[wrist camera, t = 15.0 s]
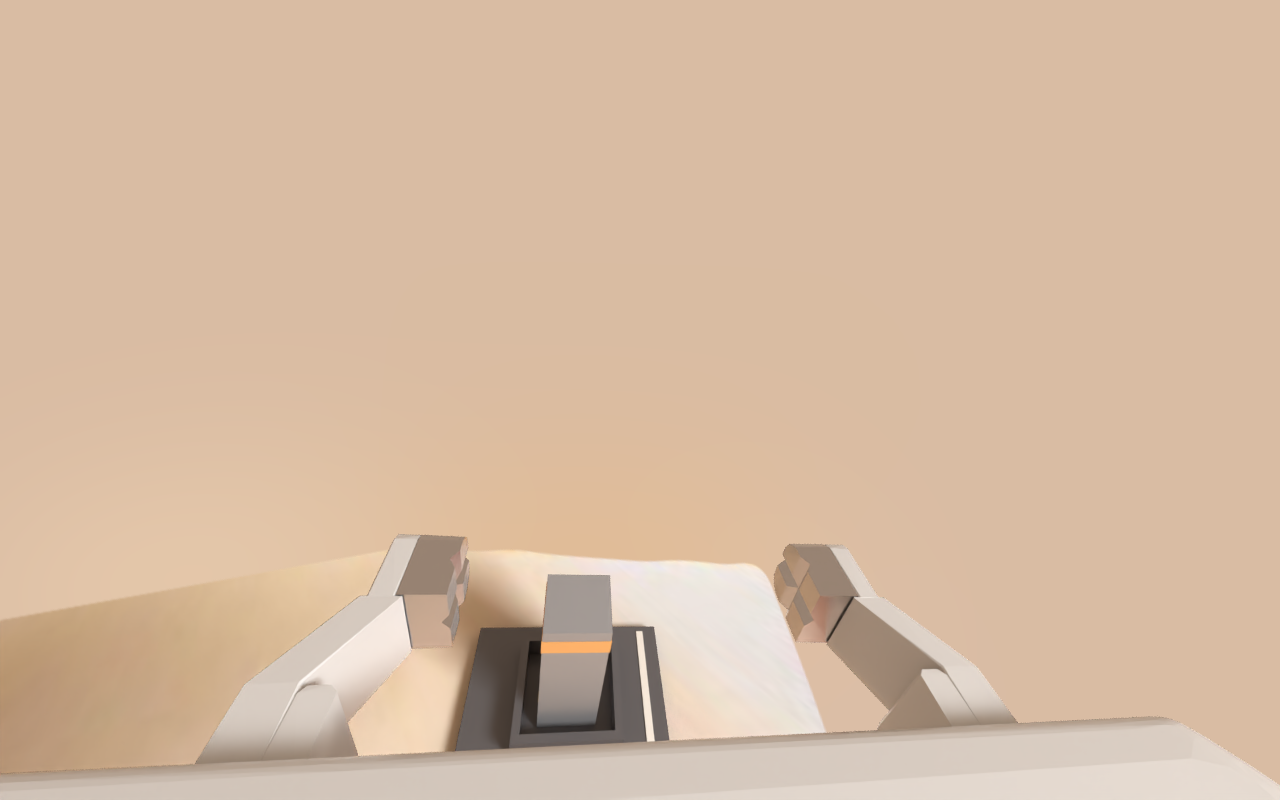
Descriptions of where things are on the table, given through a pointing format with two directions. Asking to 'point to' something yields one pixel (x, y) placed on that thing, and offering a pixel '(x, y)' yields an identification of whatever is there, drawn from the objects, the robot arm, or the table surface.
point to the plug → (574, 649)
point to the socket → (511, 693)
